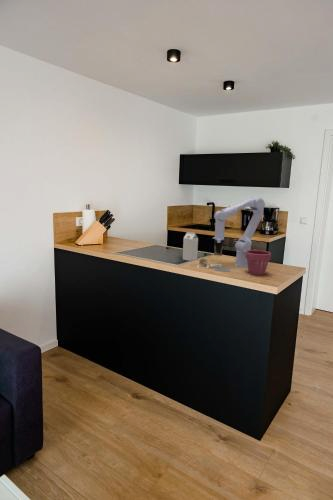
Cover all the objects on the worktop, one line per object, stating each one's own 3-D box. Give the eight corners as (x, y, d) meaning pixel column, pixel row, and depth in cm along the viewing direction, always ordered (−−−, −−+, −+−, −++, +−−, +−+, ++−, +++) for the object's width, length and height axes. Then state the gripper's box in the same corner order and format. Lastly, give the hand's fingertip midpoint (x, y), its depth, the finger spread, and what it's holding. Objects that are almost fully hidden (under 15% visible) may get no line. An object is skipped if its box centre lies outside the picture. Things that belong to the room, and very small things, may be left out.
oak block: (206, 265, 215) (207, 257, 214) (206, 267, 210) (206, 259, 209) (199, 265, 215) (200, 257, 214) (199, 266, 211) (199, 259, 210)
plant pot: (264, 270, 208) (266, 249, 206) (272, 276, 194) (274, 254, 192) (241, 270, 208) (243, 249, 205) (247, 276, 194) (249, 254, 191)
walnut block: (221, 254, 214) (222, 246, 213) (221, 255, 210) (221, 247, 209) (214, 253, 215) (214, 245, 214) (214, 255, 211) (214, 247, 210)
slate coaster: (229, 268, 210) (229, 268, 210) (230, 272, 201) (230, 271, 201) (215, 267, 211) (215, 267, 211) (214, 271, 203) (214, 270, 202)
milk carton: (188, 258, 237) (189, 231, 233) (197, 259, 232) (198, 232, 229) (182, 259, 231) (183, 232, 228) (191, 261, 227) (192, 233, 223)
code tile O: (208, 266, 216) (208, 265, 216) (208, 268, 209) (208, 267, 209) (197, 265, 217) (197, 264, 217) (196, 267, 210) (196, 267, 210)
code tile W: (221, 265, 219) (221, 264, 219) (221, 267, 213) (221, 266, 212) (210, 264, 220) (210, 263, 220) (210, 266, 214) (210, 266, 214)
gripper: (213, 228, 217) (212, 249, 220) (212, 231, 203) (211, 254, 206) (224, 229, 216) (223, 250, 218) (224, 232, 202) (223, 254, 204)
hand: (218, 252), depth 212 cm, fingers closed on walnut block, 4 cm apart
